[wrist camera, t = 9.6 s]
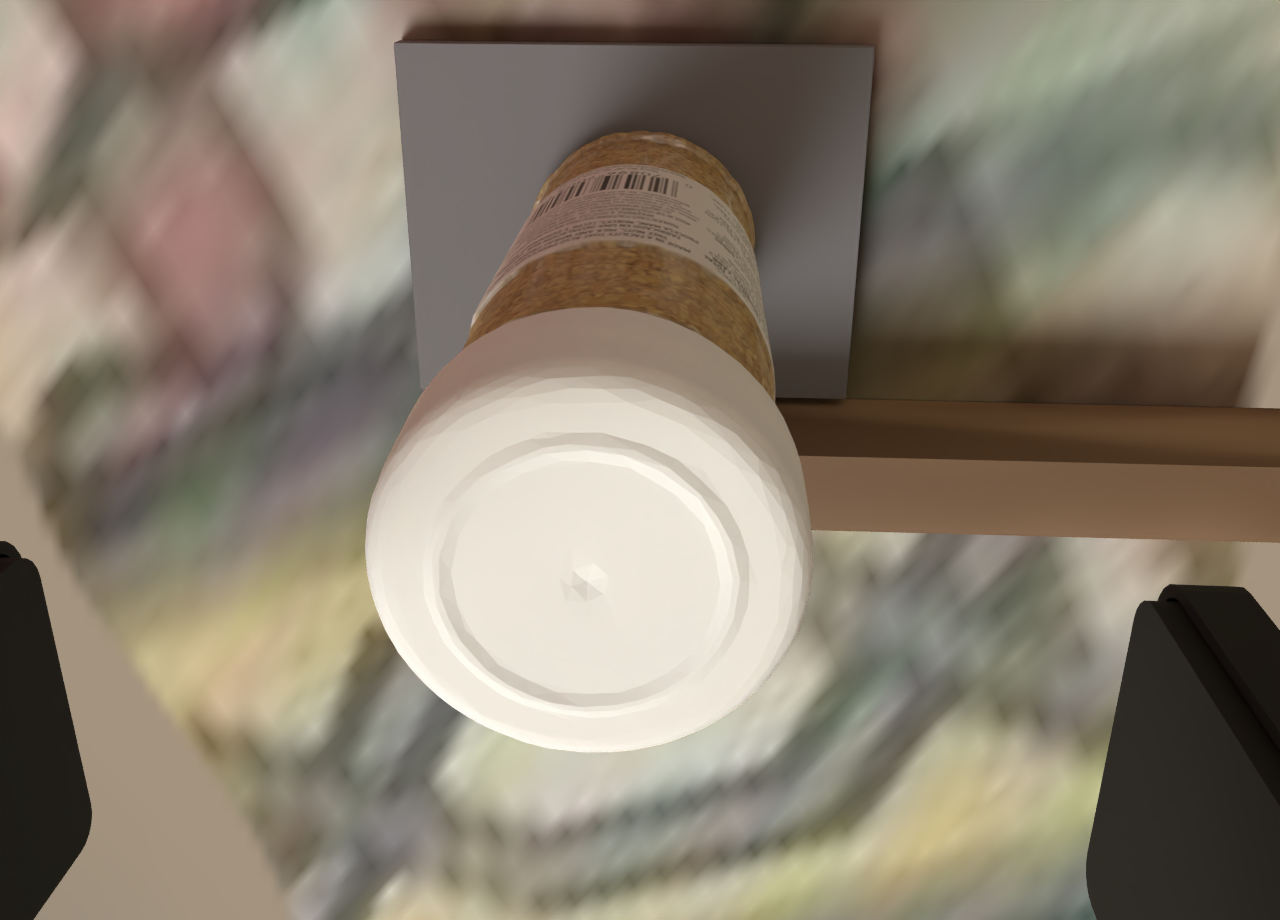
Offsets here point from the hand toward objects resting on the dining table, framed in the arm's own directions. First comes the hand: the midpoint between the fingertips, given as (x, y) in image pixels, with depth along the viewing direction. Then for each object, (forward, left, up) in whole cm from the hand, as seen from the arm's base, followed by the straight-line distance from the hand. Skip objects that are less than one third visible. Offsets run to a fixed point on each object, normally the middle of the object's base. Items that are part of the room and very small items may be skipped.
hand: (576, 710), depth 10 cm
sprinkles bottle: (0, 0, -15) cm, 15 cm away
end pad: (0, 0, -16) cm, 16 cm away
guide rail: (-4, -6, -16) cm, 17 cm away
